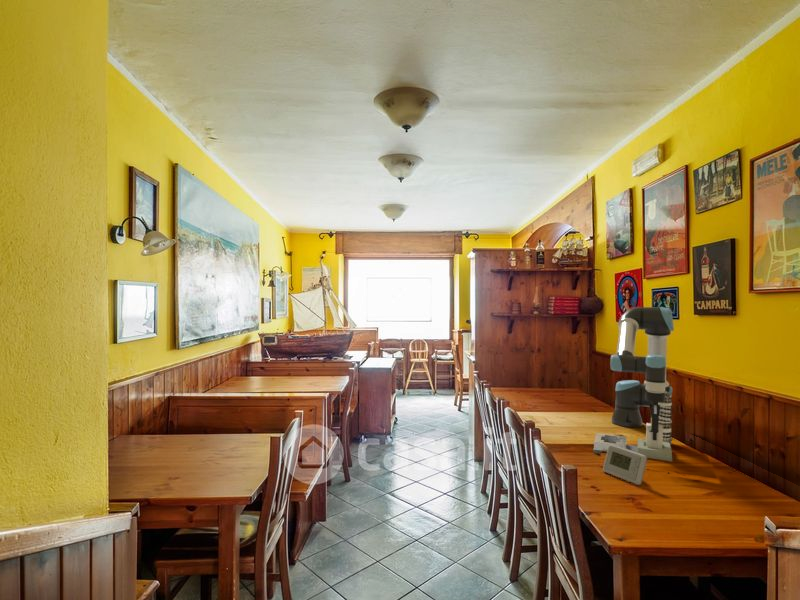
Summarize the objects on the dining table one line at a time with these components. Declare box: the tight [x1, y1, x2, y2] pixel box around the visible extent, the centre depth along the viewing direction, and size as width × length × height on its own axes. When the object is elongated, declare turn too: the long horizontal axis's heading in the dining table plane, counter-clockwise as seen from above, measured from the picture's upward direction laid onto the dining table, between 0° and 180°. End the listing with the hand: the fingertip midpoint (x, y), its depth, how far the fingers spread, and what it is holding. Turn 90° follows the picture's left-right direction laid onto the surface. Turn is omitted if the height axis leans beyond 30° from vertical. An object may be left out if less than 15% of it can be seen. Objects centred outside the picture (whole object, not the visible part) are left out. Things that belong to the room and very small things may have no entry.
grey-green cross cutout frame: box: [637, 438, 673, 462], centre depth 198 cm, size 12×15×4 cm
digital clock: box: [602, 444, 648, 486], centre depth 175 cm, size 16×9×11 cm, turn 16°
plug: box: [645, 416, 663, 450], centre depth 198 cm, size 6×4×15 cm
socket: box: [593, 432, 627, 452], centre depth 206 cm, size 12×15×4 cm
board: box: [592, 443, 673, 462], centre depth 202 cm, size 30×16×2 cm, turn 63°
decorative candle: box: [658, 392, 674, 446], centre depth 214 cm, size 9×9×25 cm
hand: (654, 445), depth 198 cm, fingers closed on plug, 4 cm apart
